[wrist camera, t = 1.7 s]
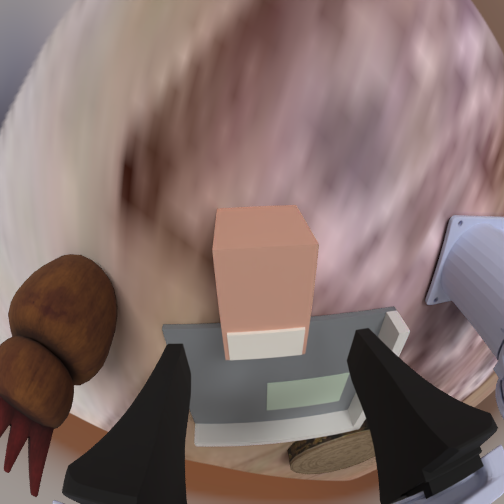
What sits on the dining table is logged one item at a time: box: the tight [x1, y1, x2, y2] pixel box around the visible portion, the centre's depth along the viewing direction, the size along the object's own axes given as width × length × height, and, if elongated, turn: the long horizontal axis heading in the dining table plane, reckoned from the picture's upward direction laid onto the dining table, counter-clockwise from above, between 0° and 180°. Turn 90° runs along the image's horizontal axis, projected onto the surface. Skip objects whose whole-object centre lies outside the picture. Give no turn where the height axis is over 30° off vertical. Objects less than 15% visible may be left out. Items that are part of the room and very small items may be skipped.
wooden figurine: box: [0, 254, 117, 497], centre depth 11 cm, size 7×6×15 cm
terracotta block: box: [212, 205, 319, 360], centre depth 16 cm, size 4×7×5 cm, turn 2°
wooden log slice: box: [288, 419, 375, 474], centre depth 33 cm, size 16×16×3 cm
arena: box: [162, 307, 410, 446], centre depth 23 cm, size 18×16×3 cm
